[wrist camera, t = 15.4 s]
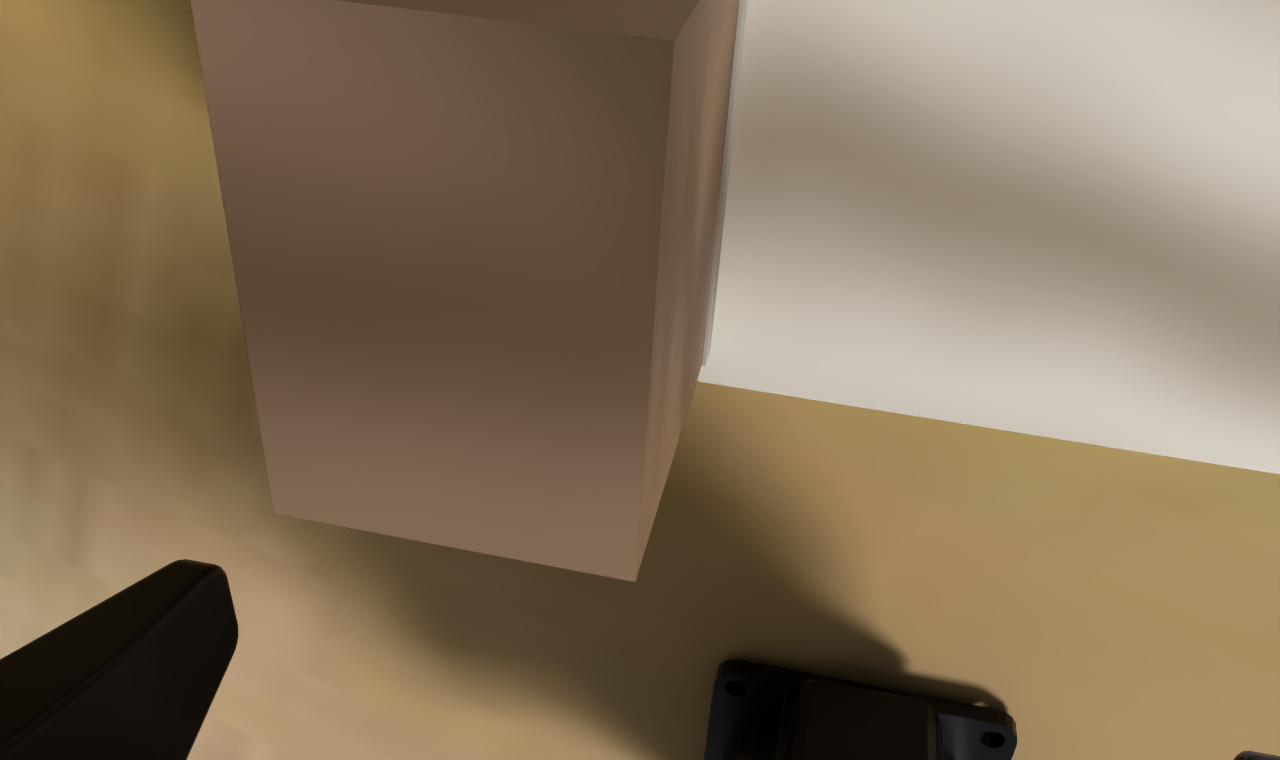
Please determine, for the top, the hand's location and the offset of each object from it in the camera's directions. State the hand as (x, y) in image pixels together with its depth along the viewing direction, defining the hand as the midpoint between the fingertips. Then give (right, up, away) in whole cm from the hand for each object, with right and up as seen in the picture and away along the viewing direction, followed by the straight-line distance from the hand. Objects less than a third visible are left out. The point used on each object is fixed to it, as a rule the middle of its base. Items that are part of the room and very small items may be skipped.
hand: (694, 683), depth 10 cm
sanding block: (-2, +7, +8) cm, 10 cm away
